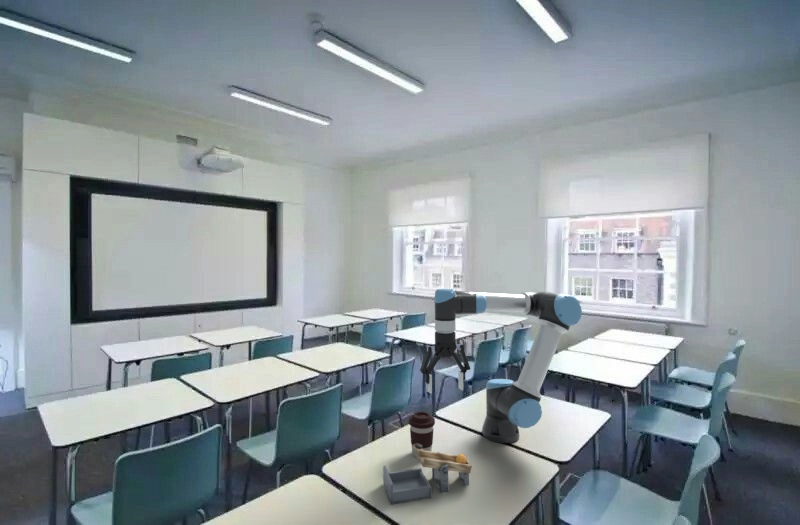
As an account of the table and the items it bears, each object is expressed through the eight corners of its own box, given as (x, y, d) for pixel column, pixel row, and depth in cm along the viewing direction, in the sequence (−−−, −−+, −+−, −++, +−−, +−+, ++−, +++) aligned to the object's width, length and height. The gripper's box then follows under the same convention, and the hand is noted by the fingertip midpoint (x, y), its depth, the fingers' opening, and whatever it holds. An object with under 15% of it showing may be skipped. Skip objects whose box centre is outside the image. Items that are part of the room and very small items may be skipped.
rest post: (462, 476, 128) (462, 465, 128) (469, 484, 124) (469, 473, 124) (458, 477, 128) (458, 465, 128) (464, 485, 123) (464, 473, 123)
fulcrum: (438, 475, 129) (438, 451, 129) (449, 493, 119) (448, 466, 119) (431, 476, 128) (431, 452, 128) (441, 494, 119) (441, 467, 119)
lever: (454, 452, 136) (455, 446, 136) (470, 473, 123) (472, 466, 123) (411, 446, 132) (412, 439, 132) (422, 466, 119) (424, 459, 119)
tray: (421, 478, 127) (421, 460, 127) (431, 497, 117) (431, 478, 117) (383, 483, 124) (383, 465, 124) (390, 504, 114) (390, 484, 114)
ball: (462, 462, 128) (465, 452, 128) (466, 468, 124) (469, 457, 124) (453, 461, 127) (455, 451, 127) (457, 467, 123) (460, 456, 124)
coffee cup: (433, 462, 137) (433, 421, 137) (406, 459, 139) (406, 419, 139) (436, 449, 147) (436, 410, 147) (411, 446, 149) (411, 408, 149)
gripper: (470, 327, 144) (471, 384, 144) (411, 331, 139) (411, 390, 139) (479, 331, 137) (479, 391, 137) (416, 334, 131) (417, 397, 131)
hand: (445, 390), depth 138 cm, fingers open, 11 cm apart
